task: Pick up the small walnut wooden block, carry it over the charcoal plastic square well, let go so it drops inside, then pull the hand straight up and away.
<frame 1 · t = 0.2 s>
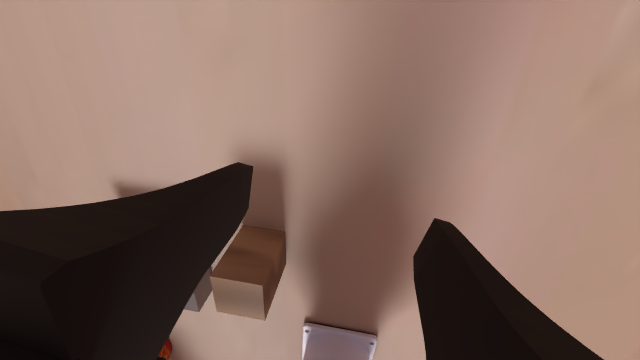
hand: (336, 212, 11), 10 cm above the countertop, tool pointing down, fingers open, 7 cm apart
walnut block: (264, 245, 26), on the countertop
canned food: (148, 338, 39), on the countertop
well: (173, 253, 29), on the countertop
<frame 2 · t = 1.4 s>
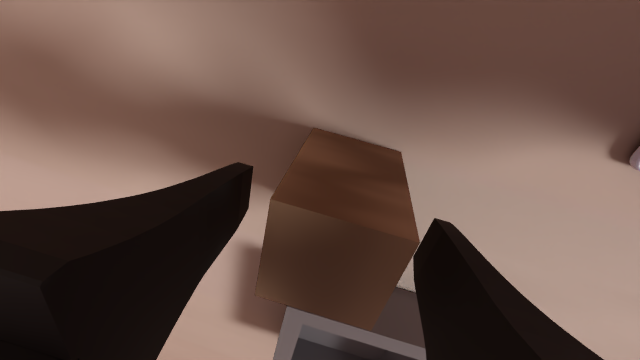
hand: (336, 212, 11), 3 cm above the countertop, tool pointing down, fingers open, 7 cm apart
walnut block: (345, 177, 13), on the countertop
well: (348, 318, 18), on the countertop
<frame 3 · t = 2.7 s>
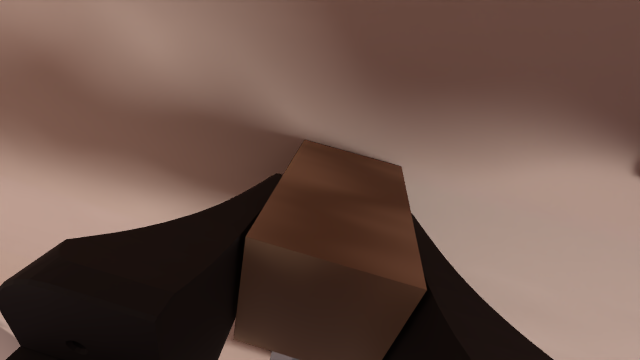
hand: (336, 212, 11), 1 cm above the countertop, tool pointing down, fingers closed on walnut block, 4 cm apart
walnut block: (339, 193, 12), on the countertop, touching gripper
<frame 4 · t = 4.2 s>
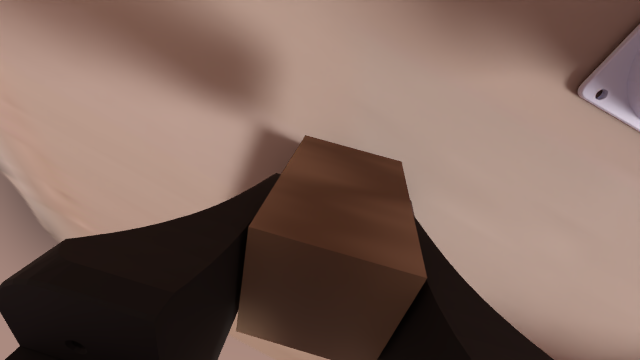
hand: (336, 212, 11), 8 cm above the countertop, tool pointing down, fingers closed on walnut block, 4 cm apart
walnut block: (340, 189, 12), point 7 cm above the countertop, touching gripper
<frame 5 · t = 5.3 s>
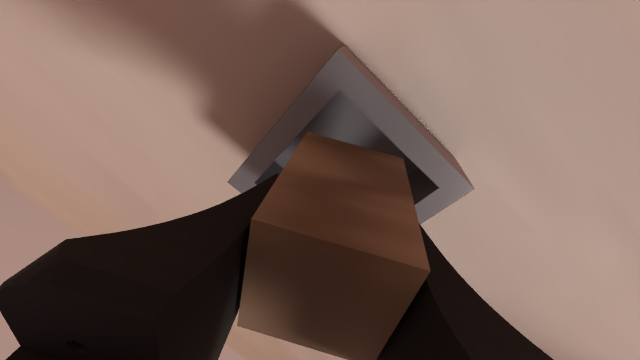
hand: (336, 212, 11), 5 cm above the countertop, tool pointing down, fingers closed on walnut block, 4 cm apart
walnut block: (341, 186, 12), point 4 cm above the countertop, touching gripper
well: (347, 157, 16), on the countertop
when the fingers open (5 cm above the countertop, at t = 5.9 s): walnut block drops 3 cm, resting on well.
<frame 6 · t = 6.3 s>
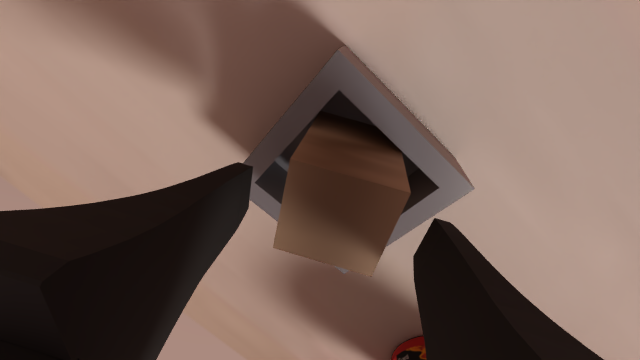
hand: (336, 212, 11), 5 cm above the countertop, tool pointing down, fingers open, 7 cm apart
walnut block: (347, 156, 15), resting on well
canned food: (435, 359, 23), on the countertop
well: (347, 157, 16), on the countertop
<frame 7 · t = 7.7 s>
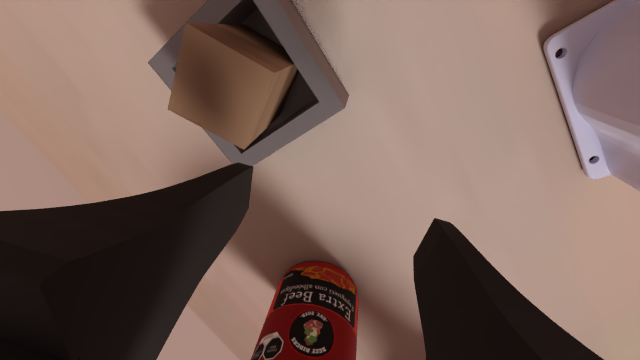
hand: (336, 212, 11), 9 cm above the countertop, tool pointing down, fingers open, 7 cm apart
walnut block: (263, 73, 18), resting on well
canned food: (319, 287, 27), on the countertop
well: (263, 76, 18), on the countertop
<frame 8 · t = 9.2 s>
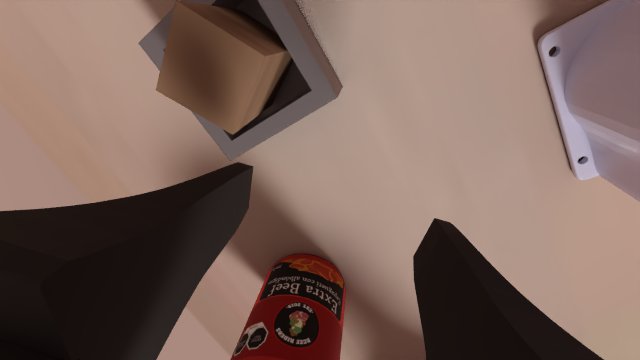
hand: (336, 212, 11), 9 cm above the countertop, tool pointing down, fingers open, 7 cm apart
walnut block: (256, 60, 17), resting on well
canned food: (307, 280, 27), on the countertop
well: (257, 63, 18), on the countertop
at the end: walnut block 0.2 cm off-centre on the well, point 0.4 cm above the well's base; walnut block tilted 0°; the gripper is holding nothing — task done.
